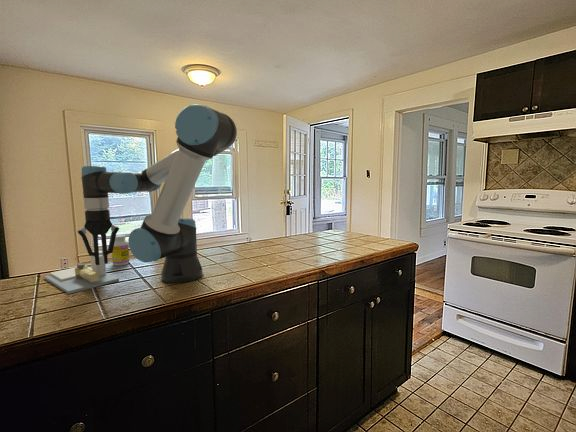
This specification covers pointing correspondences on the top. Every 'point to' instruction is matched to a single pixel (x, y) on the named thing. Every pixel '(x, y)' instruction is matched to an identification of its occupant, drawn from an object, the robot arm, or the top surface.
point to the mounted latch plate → (79, 278)
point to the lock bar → (86, 274)
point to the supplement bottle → (120, 251)
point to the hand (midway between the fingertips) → (102, 272)
